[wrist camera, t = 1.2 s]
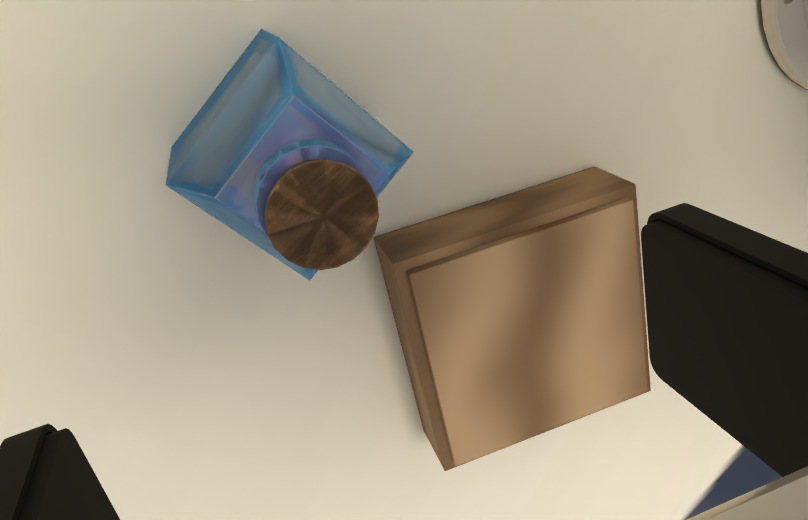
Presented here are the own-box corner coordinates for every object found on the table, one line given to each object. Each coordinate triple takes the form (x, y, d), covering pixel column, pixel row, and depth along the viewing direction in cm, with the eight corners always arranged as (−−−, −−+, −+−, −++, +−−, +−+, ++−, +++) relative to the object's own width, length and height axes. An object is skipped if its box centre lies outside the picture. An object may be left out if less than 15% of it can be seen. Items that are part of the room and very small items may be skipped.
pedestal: (595, 166, 34) (641, 186, 30) (614, 358, 39) (656, 395, 35) (373, 237, 32) (396, 268, 28) (424, 431, 37) (448, 477, 33)
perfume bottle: (289, 229, 31) (339, 354, 20) (171, 147, 28) (156, 241, 17) (373, 122, 30) (471, 194, 19) (261, 28, 27) (303, 50, 17)
